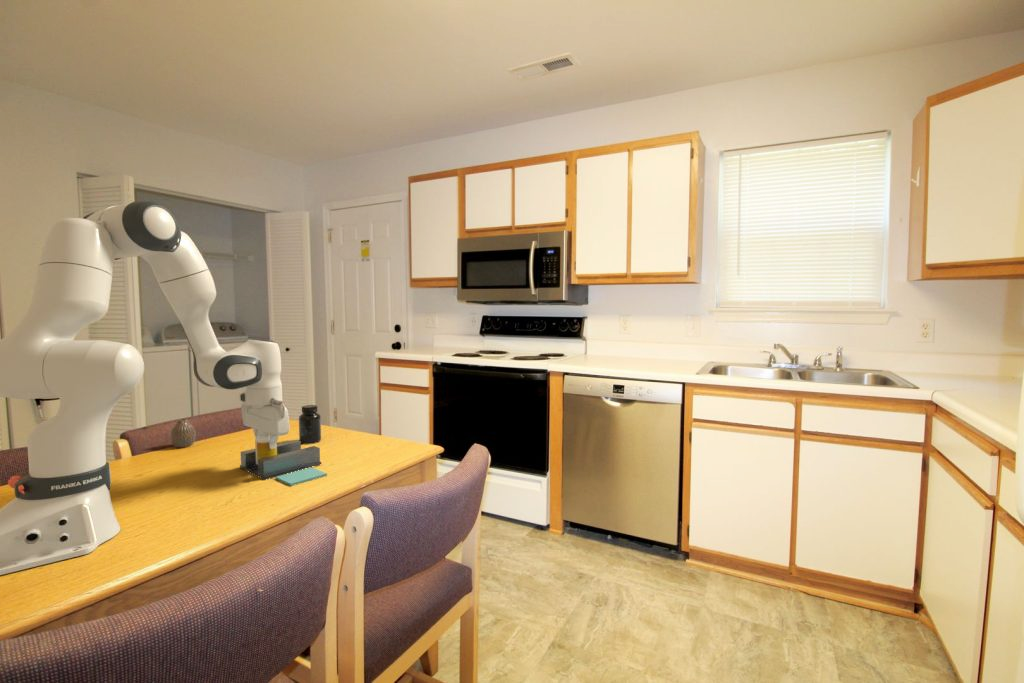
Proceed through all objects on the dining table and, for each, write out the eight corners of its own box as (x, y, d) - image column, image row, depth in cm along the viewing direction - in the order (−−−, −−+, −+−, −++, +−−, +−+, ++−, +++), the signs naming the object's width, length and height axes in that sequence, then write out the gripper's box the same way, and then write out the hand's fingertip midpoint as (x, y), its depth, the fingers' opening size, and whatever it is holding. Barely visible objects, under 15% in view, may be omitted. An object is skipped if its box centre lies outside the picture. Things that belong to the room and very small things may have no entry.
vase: (187, 449, 156) (185, 422, 155) (165, 449, 156) (164, 422, 155) (201, 443, 163) (200, 417, 162) (180, 443, 163) (179, 417, 162)
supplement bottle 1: (280, 462, 137) (279, 428, 136) (260, 467, 133) (259, 431, 132) (272, 458, 141) (271, 424, 140) (252, 462, 137) (251, 428, 136)
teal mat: (290, 486, 125) (290, 483, 125) (275, 479, 130) (275, 476, 130) (326, 475, 133) (326, 473, 133) (311, 469, 138) (311, 467, 137)
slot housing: (265, 479, 129) (264, 462, 129) (239, 468, 138) (239, 451, 138) (321, 464, 142) (321, 448, 141) (294, 454, 151) (294, 439, 150)
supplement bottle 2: (308, 437, 170) (307, 403, 169) (325, 439, 168) (324, 404, 167) (294, 443, 164) (293, 407, 163) (312, 444, 162) (311, 408, 161)
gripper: (295, 399, 132) (296, 450, 133) (259, 391, 144) (260, 437, 145) (271, 403, 127) (273, 455, 128) (236, 394, 139) (238, 441, 140)
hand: (266, 445), depth 137 cm, fingers closed on supplement bottle 1, 5 cm apart
